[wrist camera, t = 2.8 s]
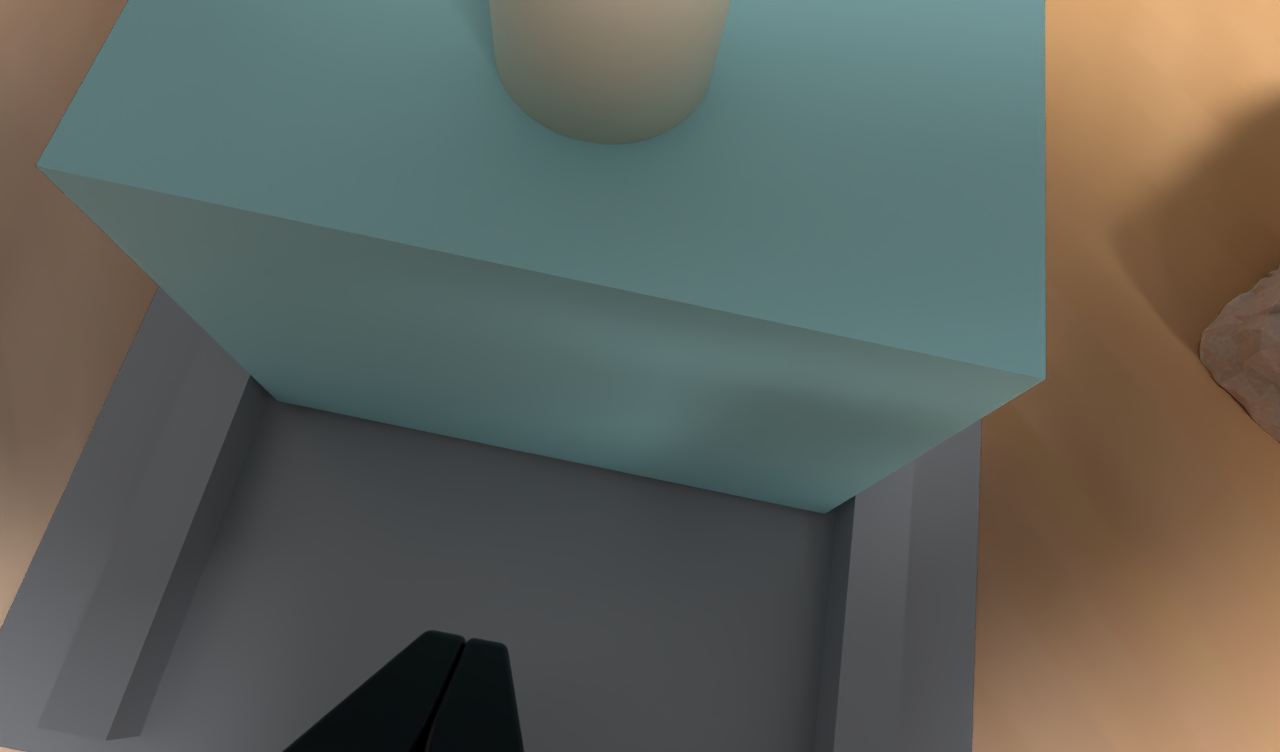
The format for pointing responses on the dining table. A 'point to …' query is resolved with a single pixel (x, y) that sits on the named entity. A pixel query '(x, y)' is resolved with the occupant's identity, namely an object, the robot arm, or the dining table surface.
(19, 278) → the dining table surface
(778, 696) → the track
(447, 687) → the robot arm
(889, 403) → the dowel block
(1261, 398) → the brick
